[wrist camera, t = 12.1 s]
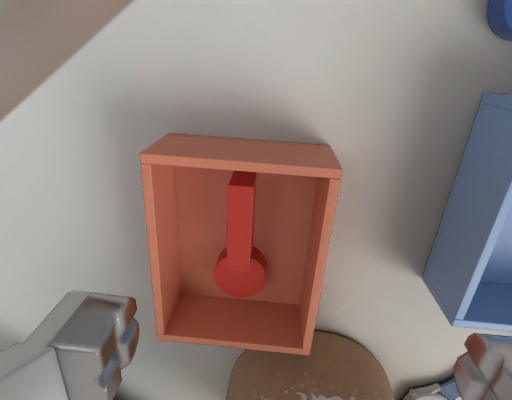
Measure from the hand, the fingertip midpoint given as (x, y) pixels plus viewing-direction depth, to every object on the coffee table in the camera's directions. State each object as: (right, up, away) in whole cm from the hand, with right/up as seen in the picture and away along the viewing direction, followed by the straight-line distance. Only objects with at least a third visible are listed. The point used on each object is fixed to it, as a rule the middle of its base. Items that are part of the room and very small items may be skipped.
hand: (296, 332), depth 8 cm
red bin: (-2, +1, +17) cm, 17 cm away
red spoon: (-2, +1, +17) cm, 17 cm away
